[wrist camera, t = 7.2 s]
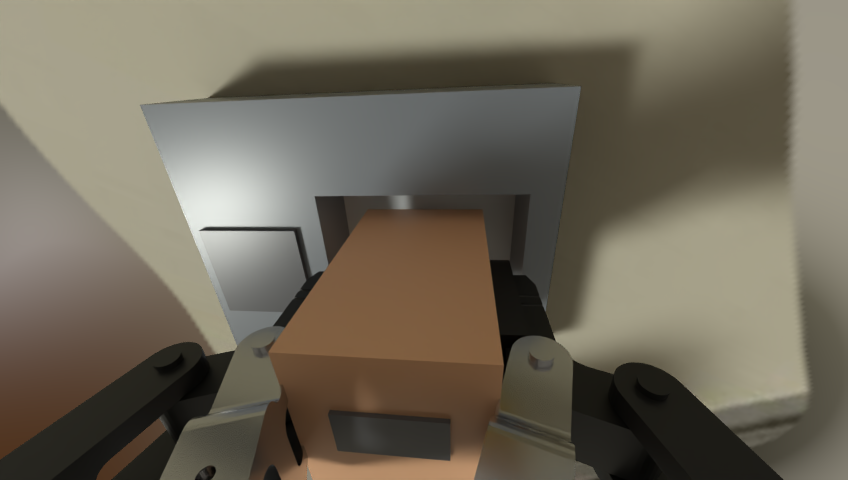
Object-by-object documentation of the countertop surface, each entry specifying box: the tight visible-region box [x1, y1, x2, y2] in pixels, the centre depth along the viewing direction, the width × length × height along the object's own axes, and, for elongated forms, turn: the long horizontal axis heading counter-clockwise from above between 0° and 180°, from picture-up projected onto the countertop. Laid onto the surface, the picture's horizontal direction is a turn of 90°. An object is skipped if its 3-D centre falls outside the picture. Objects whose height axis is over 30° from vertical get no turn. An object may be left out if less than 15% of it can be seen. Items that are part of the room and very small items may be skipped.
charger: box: [268, 209, 504, 480], centre depth 10 cm, size 4×4×7 cm
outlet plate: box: [140, 83, 581, 346], centre depth 13 cm, size 12×13×3 cm
